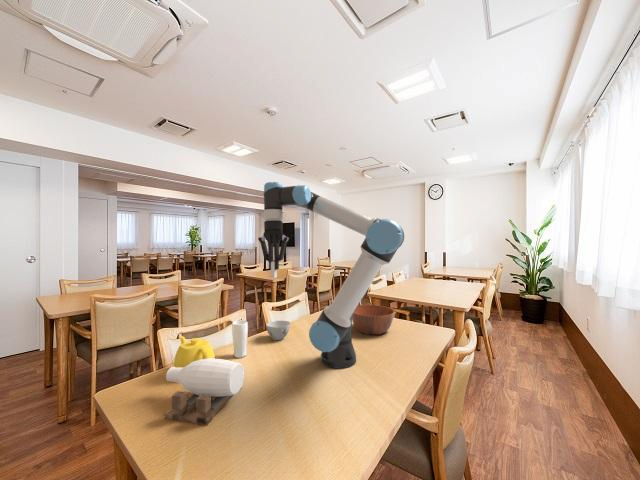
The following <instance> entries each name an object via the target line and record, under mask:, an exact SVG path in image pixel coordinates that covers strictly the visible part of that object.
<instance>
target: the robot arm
mask: <svg viewBox="0 0 640 480" xmlns="http://www.w3.org/2000/svg"><path fill="white" fill-rule="evenodd" d="M263 186H264V187H263V205H264V208H263V209H264V210H263V219H264V220H265V221H264V222H263V223H264V224H263V225H264V226H263V227H264V228H263V229H264V232H263V234H262V236H261V237H258V238H257V240H258V241H259V243H260V247H261V251H262V254H263V258H264V259H263V260H264V261H266V262H268V269H269V270H270V278H271V279H275V278H277V277H278V270H279V269H280V262H281V261H282V260H283V261H284V257H285V253H286V248H287V245H288V242H289V240H290V238H289V237H288V236H286V235H285V233H284V232H283V229H284V228H283V226H284V225H283V224H284V223H283V221H282V220H283V207H284V206H297V207H301V208H303V209H307V210H309V211H311V212H313V213H315V214H317V215H320V216H321V217H324V218H326V219H328V220H330V221H332V222H334V223H337V224H339V225H341V226H343V227H345V228H348V229H349V230H352V231H354V232H356V233H358V234H360V235H363V236H365V237H364V240H363V241H362V243H361V245H360V250H361V253H360V255H359V257H358V259H357V260H356V262H355V264H354V265H353V267H352V268H351V270H350V272H349V273H348V275H347V277H346V279H345V280H344V282H343V284H342V285H341V287H340V288H339V290H338V292H337V294H336V295H335V297H334V299H333V301H332V302H331V303H330V305H327V306H325V307H324V308H323V310H322V312H320V315H319V317H318V318H317V319H316V321H315V322H313V323H312V324H311V326H310V328H309V331H308V338H309V341H310V343H311V345H312V346H313V347H314V349H316V350H318V351H320V352H321V354H320V361H321V363H322V364H323V365H324V366H326V367H329V368H334V369H345V368H349V367H352V366H353V365H355V364H356V363H357V354H356V351H355V347H354V344H353V333H352V332H353V328H352V327H353V326H352V325H353V321H352V314H353V313H354V311H355V309H356V308H357V306H359V304H360V303H361V301H362V300H363V298H364V296H365V295H366V293H367V292H368V290H369V288H370V287H371V285H372V283H373V282H374V280H375V278H376V276H377V274H379V272H380V270H381V268H382V266H384V265H388V264H390V262H391V261H392V259H393V258H394V256H395V255H396V252H398V249H400V247H402V245H403V243H404V242H405V233H404V230H403V228H402V227H401V225H400V224H399V223H398V222H396V221H395V220H391V219H389V218H383V219H382V218H381V219H380V218H378V217H373V218H372V217H369V216H368V215H365V214H362V213H360V212H358V211H355V210H353V209H351V208H349V207H346V206H344V205H342V204H340V203H338V202H335V201H333V200H331V199H328V198H326V197H323V196H321V195H319V194H316V193H315V192H312V191H311V189H310V187H309V186H308V185H305V184H304V185H300V184H298V185H291V186H283V183H281V182H278V181H269V182H266V183H264V185H263ZM281 240H282V242H281ZM266 241H267V242H266ZM280 242H281V246H280ZM267 246H268V247H267Z"/></svg>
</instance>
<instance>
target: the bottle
mask: <svg viewBox="0 0 640 480" xmlns="http://www.w3.org/2000/svg"><path fill="white" fill-rule="evenodd" d="M165 378H166V379H165V380H166V381H167V382H174V383H180V385H181V386H182V387H183V388H184V389H185V390H186V391H188V392H189V393H191V394H192V395H193V394H196V395H199V396H200V395H201V394H204V395H211V398H213V397H214V398H215V397H221V396H231V395H233V396H235V395H236V394H238V393H239V392H240V391H241V390H242V388H243V384H244V380H245V369H244V366H243V365H242V364H241V363H239V362H236V361H232V360H228V359H223V358H222V359H221V358H215V359H214V358H208V359H201V360H198V361H194V362H192V363H190V364H189V365H187V366H185V367H178V368H176V367H174V366H171V367H170V368H169V369H168V370H167V372H166V374H165ZM241 387H242V388H241ZM240 389H241V390H240ZM239 390H240V391H239Z"/></svg>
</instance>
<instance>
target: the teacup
mask: <svg viewBox="0 0 640 480" xmlns="http://www.w3.org/2000/svg"><path fill="white" fill-rule="evenodd" d="M265 326H266V327H265V328H266V331H267V334H268V335H269V337H270V338H272V340H273V339H274V340H273V341H282V340H284V339H285V337H286V336H287V335H288V333H289V332H290V327H291V322H289V321H287V320H273V321H269V322H267V323H266V325H265Z"/></svg>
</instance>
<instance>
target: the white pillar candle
mask: <svg viewBox="0 0 640 480" xmlns="http://www.w3.org/2000/svg"><path fill="white" fill-rule="evenodd" d="M231 324H232V325H231V332H232V333H231V334H232V343H233V356H234V358H238V359H241V358H244V357H246V356H247V348H248V347H247V346H248V335H249V334H248V332H249V324H248V321H247V320H243V319H242V320H235V321H233V322H232V323H231Z"/></svg>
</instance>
